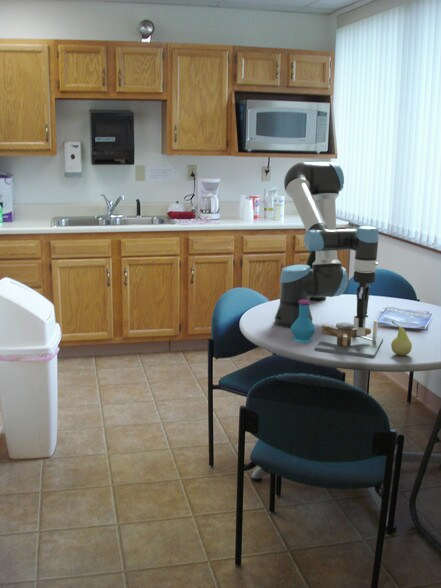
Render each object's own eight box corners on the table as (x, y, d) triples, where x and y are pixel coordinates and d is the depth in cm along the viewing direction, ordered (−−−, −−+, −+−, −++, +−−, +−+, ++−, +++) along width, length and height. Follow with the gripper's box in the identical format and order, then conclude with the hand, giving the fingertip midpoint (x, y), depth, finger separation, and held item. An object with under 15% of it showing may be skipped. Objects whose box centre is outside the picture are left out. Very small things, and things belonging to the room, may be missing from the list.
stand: (314, 349, 242) (315, 325, 240) (327, 334, 261) (328, 311, 259) (373, 357, 234) (375, 332, 232) (382, 340, 253) (384, 317, 251)
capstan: (343, 351, 236) (344, 332, 234) (320, 338, 251) (321, 320, 249) (382, 346, 242) (384, 328, 240) (357, 334, 256) (358, 316, 255)
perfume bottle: (285, 339, 254) (286, 300, 250) (300, 334, 260) (302, 296, 256) (304, 344, 247) (306, 305, 244) (320, 339, 254) (322, 300, 250)
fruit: (409, 359, 233) (412, 325, 230) (387, 356, 236) (390, 323, 233) (412, 353, 239) (414, 321, 236) (390, 351, 242) (392, 318, 239)
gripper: (372, 275, 232) (367, 341, 237) (378, 268, 243) (373, 332, 249) (350, 273, 234) (346, 338, 240) (357, 267, 246) (353, 329, 251)
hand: (360, 335), depth 244 cm, fingers closed
